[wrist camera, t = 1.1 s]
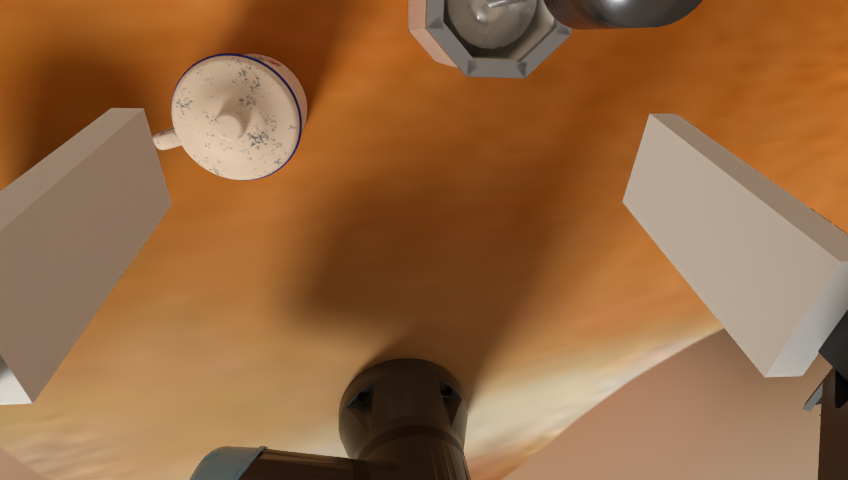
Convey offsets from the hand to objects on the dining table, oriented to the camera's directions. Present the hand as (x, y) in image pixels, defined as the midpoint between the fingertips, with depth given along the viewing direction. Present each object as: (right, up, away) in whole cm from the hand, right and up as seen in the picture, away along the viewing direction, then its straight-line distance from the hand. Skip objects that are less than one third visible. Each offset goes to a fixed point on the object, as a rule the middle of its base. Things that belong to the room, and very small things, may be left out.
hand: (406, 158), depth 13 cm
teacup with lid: (-16, +9, +30) cm, 35 cm away
